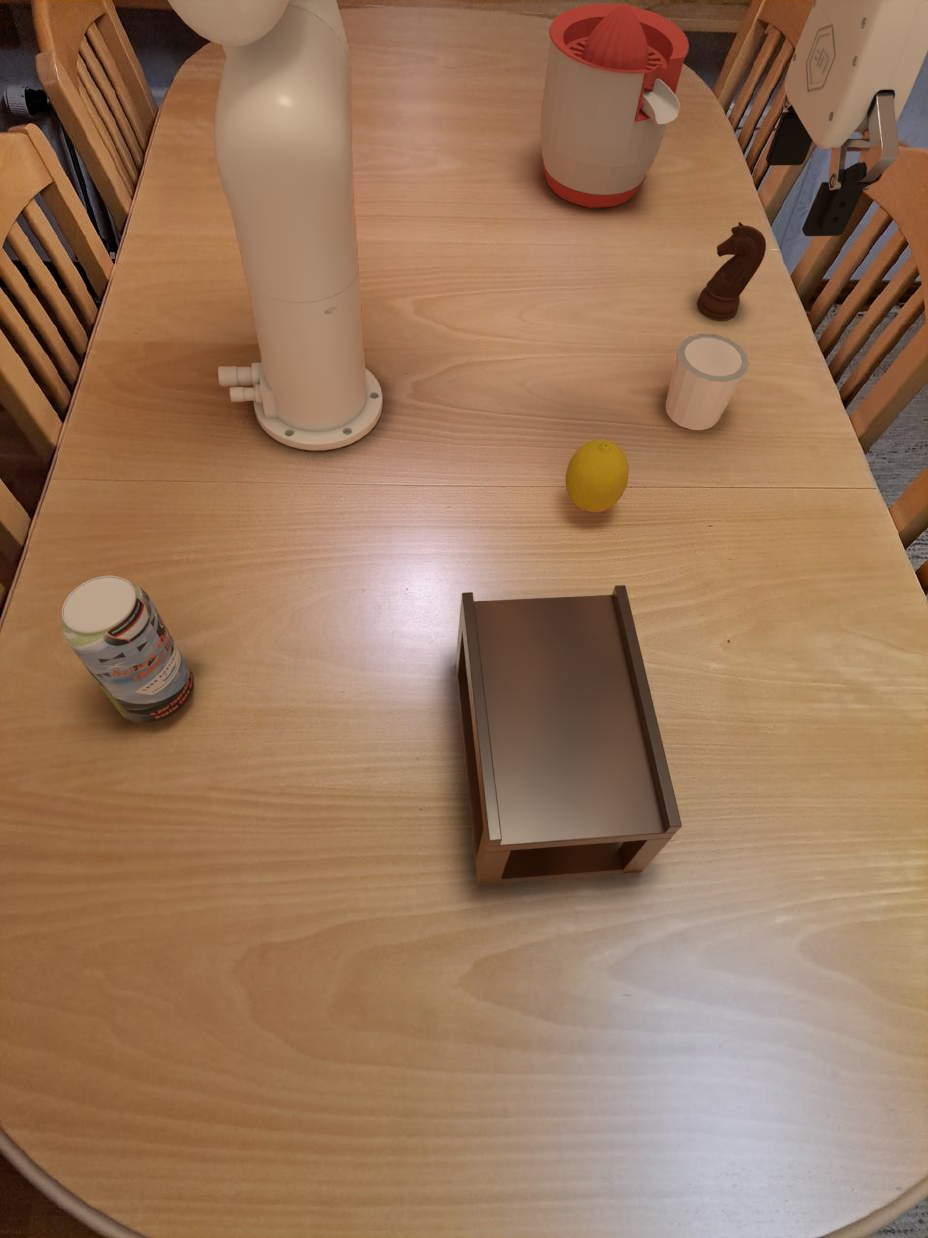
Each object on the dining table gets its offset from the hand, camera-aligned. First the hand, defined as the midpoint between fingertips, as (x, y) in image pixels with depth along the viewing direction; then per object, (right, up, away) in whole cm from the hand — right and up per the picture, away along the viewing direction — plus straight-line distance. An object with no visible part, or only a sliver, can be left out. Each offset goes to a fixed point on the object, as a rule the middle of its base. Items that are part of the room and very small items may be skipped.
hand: (801, 197), depth 67 cm
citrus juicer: (-10, +21, +39) cm, 46 cm away
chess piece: (+2, +1, +28) cm, 28 cm away
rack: (-21, -45, -3) cm, 50 cm away
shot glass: (-4, -13, +19) cm, 23 cm away
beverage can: (-52, -40, -1) cm, 65 cm away
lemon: (-16, -24, +11) cm, 30 cm away
